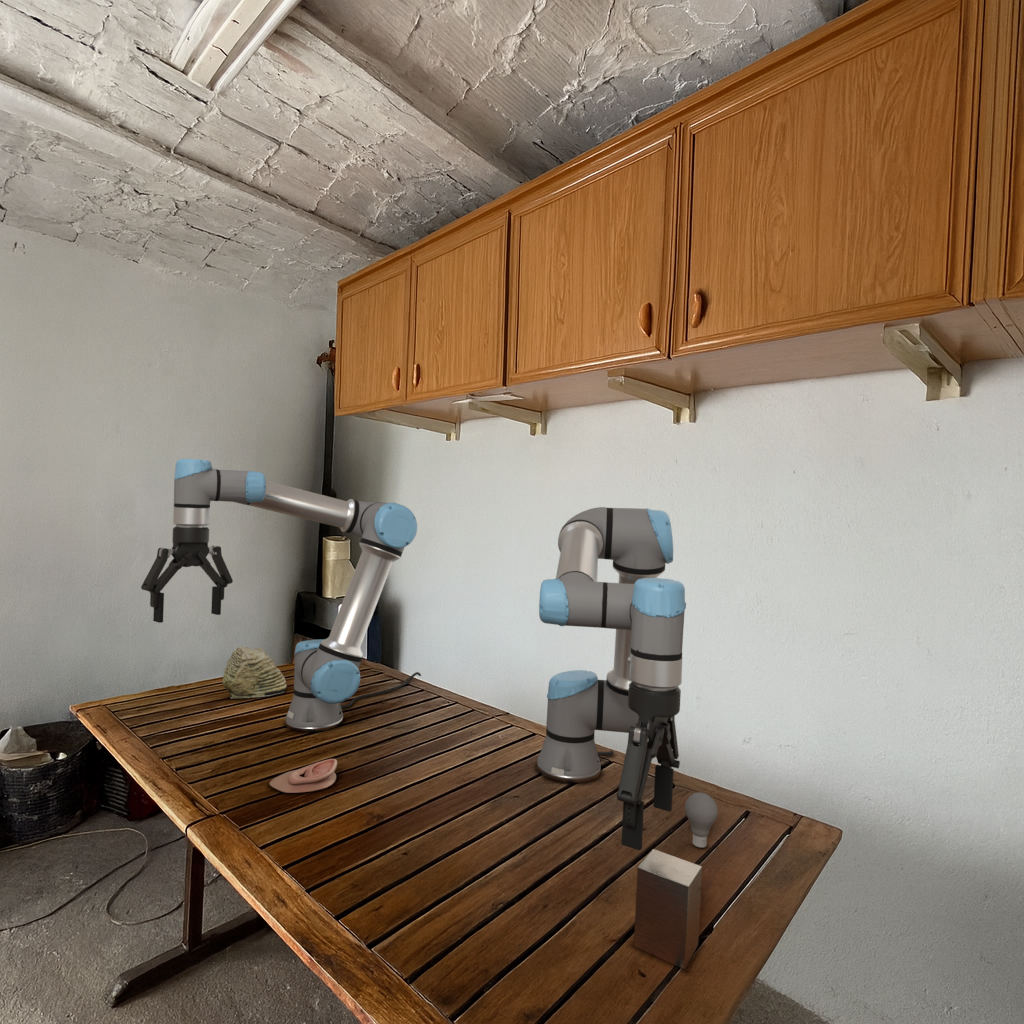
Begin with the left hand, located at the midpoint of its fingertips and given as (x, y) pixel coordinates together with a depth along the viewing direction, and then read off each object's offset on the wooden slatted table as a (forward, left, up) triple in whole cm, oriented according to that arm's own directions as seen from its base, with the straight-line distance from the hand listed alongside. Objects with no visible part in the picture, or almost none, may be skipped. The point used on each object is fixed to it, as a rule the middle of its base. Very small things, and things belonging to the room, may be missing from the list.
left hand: (188, 617), depth 146 cm
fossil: (-37, -35, -34) cm, 61 cm away
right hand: (-19, +108, -17) cm, 111 cm away
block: (-20, +111, -34) cm, 118 cm away
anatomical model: (-13, +28, -34) cm, 46 cm away
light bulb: (-49, +104, -34) cm, 120 cm away
